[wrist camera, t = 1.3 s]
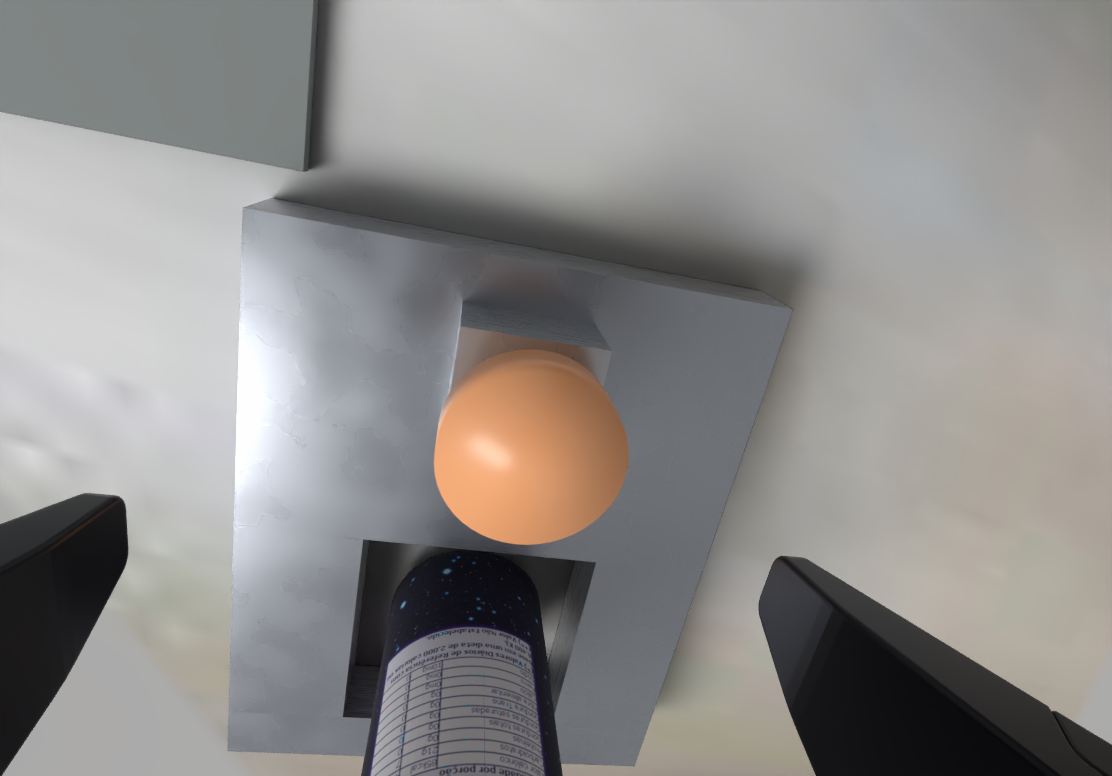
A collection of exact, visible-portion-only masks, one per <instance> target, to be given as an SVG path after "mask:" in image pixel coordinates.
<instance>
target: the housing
mask: <svg viewBox="0 0 1112 776" xmlns="http://www.w3.org/2000/svg"><path fill="white" fill-rule="evenodd" d="M792 312H793V309H791V308H789V307H788V306H786V305H784V304H782V303H781V302H779V301H777V300H775V299H774V298H772V297H770V296H768V295H767V294H765V293H763V292H761V291H759V290H754V289H748V288H743V287H738V286H733V285H727V284H722V283H717V282H711V281H706V280H701V279H696V278H690V277H685V276H680V275H674V274H669V273H664V272H659V271H653V270H648V269H643V268H637V267H632V266H627V265H622V264H616V263H611V262H606V261H601V260H595V259H590V258H585V257H579V256H574V255H569V254H564V253H558V252H553V251H548V250H542V249H537V248H532V247H527V246H521V245H516V244H511V243H505V242H500V241H495V240H490V239H484V238H479V237H474V236H468V235H463V234H458V233H453V232H447V231H442V230H437V229H431V228H426V227H421V226H416V225H410V224H405V223H400V222H394V221H389V220H384V219H379V218H373V217H368V216H363V215H357V214H352V213H347V212H342V211H336V210H331V209H326V208H320V207H315V206H310V205H305V204H299V203H294V202H289V201H283V200H278V199H273V198H270V199H267V200H264V201H261V202H258V203H255V204H252V205H250V206H247V207H244V208H243V219H242V254H241V290H240V325H239V361H238V396H237V432H236V468H235V503H234V539H233V574H232V610H231V645H230V681H229V716H228V751H239V752H266V753H293V754H319V755H346V756H365V752H366V746H367V741H368V735H369V729H370V724H371V718H372V713H373V707H374V701H375V696H376V690H377V684H378V679H379V673H380V667H378V666H362V665H355V657H356V649H357V640H358V632H359V623H360V615H361V607H362V598H363V590H364V581H365V573H366V564H367V556H368V548H369V540H374V541H385V542H395V543H405V544H415V545H425V546H435V547H446V548H456V549H466V550H476V551H486V552H497V553H507V554H517V555H527V556H537V557H548V558H558V559H568V560H575V562H574V566H573V570H572V574H571V578H570V582H569V585H568V589H567V593H566V597H565V601H564V605H563V609H562V612H561V616H560V620H559V624H558V628H557V632H556V636H555V639H554V643H553V647H552V651H551V655H550V659H549V663H548V671H549V678H550V685H551V693H552V700H553V708H554V715H555V723H556V730H557V738H558V745H559V753H560V760H561V764H588V765H615V766H635V763H636V760H637V757H638V754H639V752H640V749H641V746H642V743H643V740H644V737H645V734H646V731H647V729H648V726H649V723H650V720H651V717H652V714H653V711H654V708H655V706H656V703H657V700H658V697H659V694H660V691H661V688H662V685H663V683H664V680H665V677H666V674H667V671H668V668H669V665H670V662H671V660H672V657H673V654H674V651H675V648H676V645H677V642H678V639H679V637H680V634H681V631H682V628H683V625H684V622H685V619H686V616H687V614H688V611H689V608H690V605H691V602H692V599H693V596H694V593H695V591H696V588H697V585H698V582H699V579H700V576H701V573H702V570H703V568H704V565H705V562H706V559H707V556H708V553H709V550H710V547H711V545H712V542H713V539H714V536H715V533H716V530H717V527H718V524H719V522H720V519H721V516H722V513H723V510H724V507H725V504H726V501H727V499H728V496H729V493H730V490H731V487H732V484H733V481H734V478H735V476H736V473H737V470H738V467H739V464H740V461H741V458H742V455H743V453H744V450H745V447H746V444H747V441H748V438H749V435H750V432H751V430H752V427H753V424H754V421H755V418H756V415H757V412H758V409H759V407H760V404H761V401H762V398H763V395H764V392H765V389H766V386H767V384H768V381H769V378H770V375H771V372H772V369H773V366H774V363H775V361H776V358H777V355H778V352H779V349H780V346H781V343H782V340H783V338H784V335H785V332H786V329H787V326H788V323H789V320H790V317H791V315H792ZM530 349H534V350H545V351H550V352H554V353H558V354H561V355H564V356H566V357H569V358H571V359H573V360H575V361H576V362H578V363H580V364H581V365H583V366H584V367H585V368H587V369H588V370H589V371H590V372H591V373H592V374H593V375H595V376H596V378H597V379H598V380H599V381H600V383H601V384H602V385H603V387H604V388H605V390H606V392H607V393H608V395H609V397H610V399H611V401H612V403H613V405H614V407H615V409H616V411H617V413H618V415H619V417H620V419H621V422H622V424H623V426H624V429H625V432H626V436H627V440H628V448H629V461H628V468H627V473H626V477H625V479H624V482H623V485H622V487H621V489H620V491H619V493H618V495H617V497H616V498H615V500H614V501H613V503H612V504H611V505H610V507H609V508H608V509H607V510H606V511H605V512H604V513H603V514H602V515H601V516H600V517H599V518H598V519H597V520H596V521H594V522H593V523H592V524H590V525H589V526H587V527H586V528H584V529H583V530H581V531H579V532H577V533H575V534H573V535H571V536H568V537H566V538H563V539H560V540H557V541H553V542H548V543H543V544H532V545H521V544H511V543H505V542H501V541H497V540H493V539H491V538H488V537H486V536H483V535H481V534H479V533H477V532H476V531H474V530H472V529H471V528H469V527H468V526H467V525H465V524H464V523H462V522H461V521H460V520H459V519H458V518H457V517H456V516H455V515H454V514H453V512H452V511H451V510H450V509H449V507H448V506H447V505H446V503H445V501H444V499H443V498H442V496H441V493H440V491H439V488H438V486H437V482H436V478H435V472H434V454H435V445H436V437H437V429H438V422H439V417H440V413H441V410H442V407H443V404H444V402H445V400H446V398H447V396H448V394H449V393H450V391H451V390H452V388H453V387H454V386H455V384H456V383H457V382H458V381H459V380H460V379H461V378H462V377H463V376H464V375H465V374H466V373H467V372H468V371H469V370H471V369H472V368H473V367H475V366H476V365H478V364H479V363H481V362H483V361H485V360H487V359H489V358H491V357H494V356H496V355H499V354H502V353H506V352H510V351H516V350H530Z"/></svg>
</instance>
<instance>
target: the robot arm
mask: <svg viewBox="0 0 1112 776" xmlns="http://www.w3.org/2000/svg"><path fill="white" fill-rule="evenodd" d="M127 558H128V535H127V519H126V507H125V503H124V501H123V499H121V498H120V497H119V496H115V495H105V494H94V493H84V494H80V495H78V496H75V497H72V498H69V499H67V500H64V501H61V502H59V503H56V504H53V505H51V506H48V507H45V508H43V509H40V510H37V511H35V512H32V513H29V514H26V515H24V516H21V517H18V518H16V519H13V520H10V521H8V522H5V523H2V524H0V776H2V775H3V772H5V770H6V769H7V767H8V765H9V764H10V763H11V761H12V760H13V758H14V756H15V755H16V754H17V752H18V751H19V749H20V748H21V746H22V745H23V743H24V742H25V740H26V739H27V737H28V736H29V734H30V733H31V731H32V730H33V728H34V727H35V725H36V724H37V722H38V721H39V719H40V718H41V716H42V715H43V713H44V712H45V710H46V709H47V707H48V706H49V705H50V703H51V702H52V700H53V698H54V697H55V695H56V694H57V692H58V691H59V689H60V687H61V686H62V684H63V683H64V681H65V680H66V678H67V676H68V674H69V672H70V671H71V669H72V667H73V665H74V663H75V662H76V660H77V658H78V656H79V654H80V652H81V650H82V648H83V647H84V644H85V642H86V641H87V639H88V637H89V635H90V633H91V631H92V629H93V627H94V626H95V624H96V622H97V620H98V618H99V616H100V614H101V612H102V610H103V609H104V607H105V605H106V603H107V601H108V599H109V597H110V595H111V593H112V591H113V589H114V588H115V586H116V584H117V582H118V580H119V578H120V576H121V574H122V572H123V570H124V568H125V565H126V562H127ZM759 615H760V619H761V622H762V626H763V629H764V632H765V635H766V639H767V642H768V645H769V648H770V652H771V655H772V658H773V661H774V665H775V668H776V671H777V674H778V678H779V681H780V684H781V687H782V691H783V694H784V697H785V700H786V703H787V706H788V708H789V711H790V714H791V717H792V719H793V722H794V724H795V727H796V729H797V732H798V734H799V736H800V739H801V741H802V744H803V746H804V748H805V751H806V753H807V756H808V758H809V760H810V763H811V765H812V768H813V770H814V772H815V775H816V776H1112V745H1111V744H1109V743H1108V742H1106V741H1105V740H1103V739H1101V738H1100V737H1098V736H1096V735H1094V734H1093V733H1091V732H1090V731H1088V730H1086V729H1085V728H1083V727H1081V726H1080V725H1078V724H1076V723H1075V722H1073V721H1072V720H1070V719H1068V718H1067V717H1065V716H1063V715H1062V714H1060V713H1058V712H1057V711H1051V710H1050V708H1049V707H1048V706H1047V705H1045V704H1043V703H1042V702H1040V701H1039V700H1037V699H1035V698H1034V697H1032V696H1030V695H1029V694H1027V693H1025V692H1024V691H1022V690H1021V689H1019V688H1017V687H1016V686H1014V685H1012V684H1011V683H1009V682H1007V681H1006V680H1004V679H1003V678H1001V677H999V676H998V675H996V674H994V673H993V672H991V671H989V670H988V669H986V668H984V667H983V666H981V665H980V664H978V663H976V662H975V661H973V660H971V659H970V658H968V657H966V656H965V655H963V654H962V653H960V652H958V651H957V650H955V649H953V648H952V647H950V646H948V645H947V644H945V643H944V642H942V641H940V640H939V639H937V638H935V637H934V636H932V635H930V634H929V633H927V632H925V631H924V630H922V629H921V628H919V627H917V626H916V625H914V624H912V623H911V622H909V621H907V620H906V619H904V618H903V617H901V616H899V615H898V614H896V613H894V612H893V611H891V610H889V609H888V608H886V607H885V606H883V605H881V604H880V603H878V602H876V601H875V600H873V599H871V598H870V597H868V596H866V595H865V594H863V593H862V592H860V591H858V590H857V589H855V588H853V587H852V586H850V585H848V584H847V583H845V582H844V581H842V580H840V579H839V578H837V577H835V576H834V575H832V574H830V573H829V572H827V571H826V570H824V569H822V568H821V567H819V566H817V565H816V564H814V563H812V562H811V561H809V560H807V559H805V558H801V557H790V556H780V557H778V558H776V560H775V561H774V562H773V564H772V567H771V569H770V572H769V575H768V577H767V580H766V583H765V585H764V588H763V591H762V593H761V596H760V600H759Z"/></svg>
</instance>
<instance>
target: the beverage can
mask: <svg viewBox="0 0 1112 776" xmlns="http://www.w3.org/2000/svg"><path fill="white" fill-rule="evenodd" d="M361 776H563V775H562V768H561V760H560V753H559V745H558V738H557V730H556V723H555V715H554V708H553V700H552V693H551V685H550V678H549V671H548V663H547V656H546V648H545V641H544V633H543V626H542V618H541V611H540V603H539V597H538V593H537V590H536V587H535V585H534V583H533V582H532V580H531V578H530V577H529V576H528V575H527V573H526V572H525V571H524V570H523V569H521V568H520V567H519V566H518V565H516V564H515V563H513V562H512V561H510V560H508V559H506V558H504V557H502V556H499V555H496V554H493V553H489V552H483V551H473V550H464V551H455V552H449V553H445V554H441V555H438V556H436V557H433V558H431V559H429V560H427V561H425V562H423V563H421V564H420V565H418V566H417V567H416V568H414V569H413V570H412V571H411V572H410V573H409V574H408V575H407V576H406V577H405V578H404V579H403V580H402V582H401V583H400V584H399V586H398V588H397V590H396V592H395V594H394V597H393V601H392V606H391V611H390V617H389V622H388V628H387V634H386V639H385V645H384V651H383V656H382V662H381V667H380V673H379V679H378V684H377V690H376V696H375V701H374V707H373V713H372V718H371V724H370V729H369V735H368V741H367V746H366V752H365V758H364V763H363V769H362V774H361Z"/></svg>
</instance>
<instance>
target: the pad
mask: <svg viewBox="0 0 1112 776" xmlns="http://www.w3.org/2000/svg"><path fill="white" fill-rule="evenodd" d="M318 6H319V0H0V112H4V113H9V114H14V115H19V116H24V117H29V118H34V119H39V120H44V121H49V122H55V123H60V124H65V125H70V126H75V127H80V128H85V129H90V130H95V131H100V132H105V133H110V134H115V135H120V136H125V137H130V138H135V139H140V140H145V141H150V142H155V143H160V144H166V145H171V146H176V147H181V148H186V149H191V150H196V151H201V152H206V153H211V154H216V155H221V156H226V157H231V158H236V159H241V160H246V161H251V162H256V163H261V164H266V165H271V166H277V167H282V168H287V169H292V170H297V171H302V172H304V171H308V166H309V150H310V134H311V118H312V102H313V86H314V70H315V54H316V38H317V22H318Z"/></svg>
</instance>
